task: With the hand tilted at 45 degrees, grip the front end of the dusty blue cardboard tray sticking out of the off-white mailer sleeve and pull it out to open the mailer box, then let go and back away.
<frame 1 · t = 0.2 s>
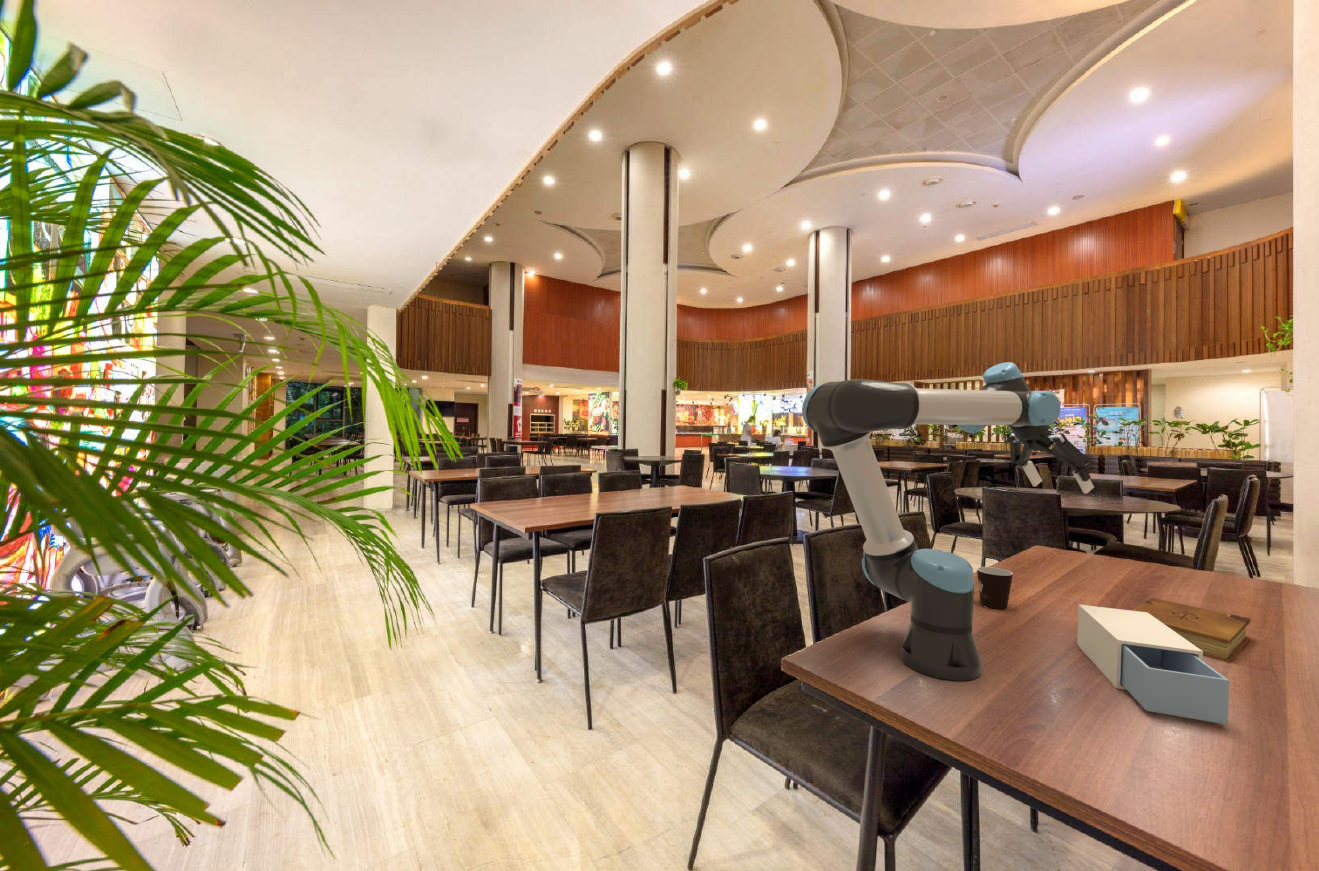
hand: (1062, 486, 135), 36 cm above the table, tool tilted 35°, fingers open, 13 cm apart
mailer sleeve: (1132, 670, 110), on the table
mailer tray: (1155, 668, 101), point 5 cm above the table, slide at 10.0 cm
diary: (1183, 638, 129), on the table
coffee mug: (994, 605, 150), on the table
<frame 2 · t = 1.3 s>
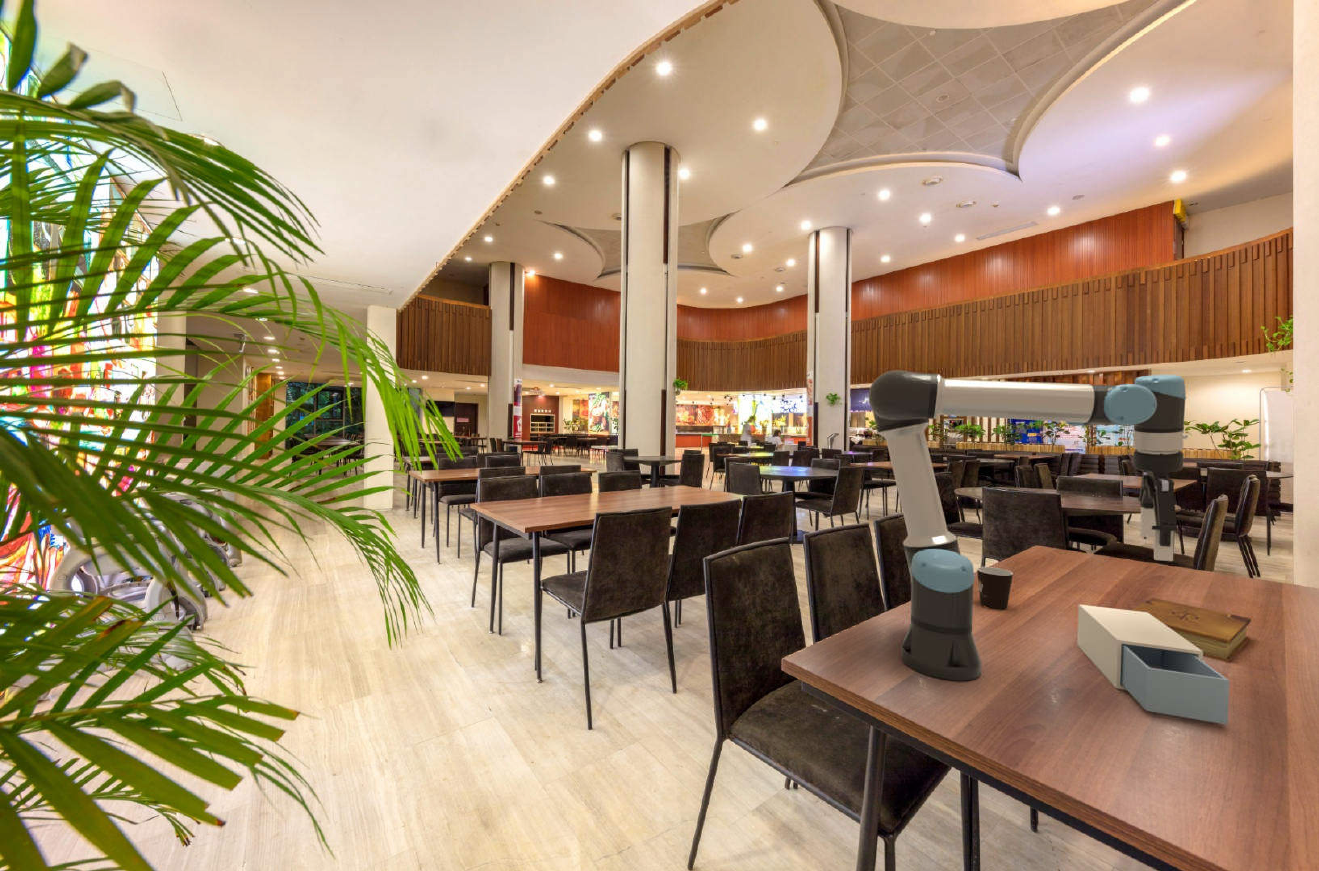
hand: (1155, 547, 112), 26 cm above the table, tool pointing down, fingers open, 13 cm apart
nothing on the table moved.
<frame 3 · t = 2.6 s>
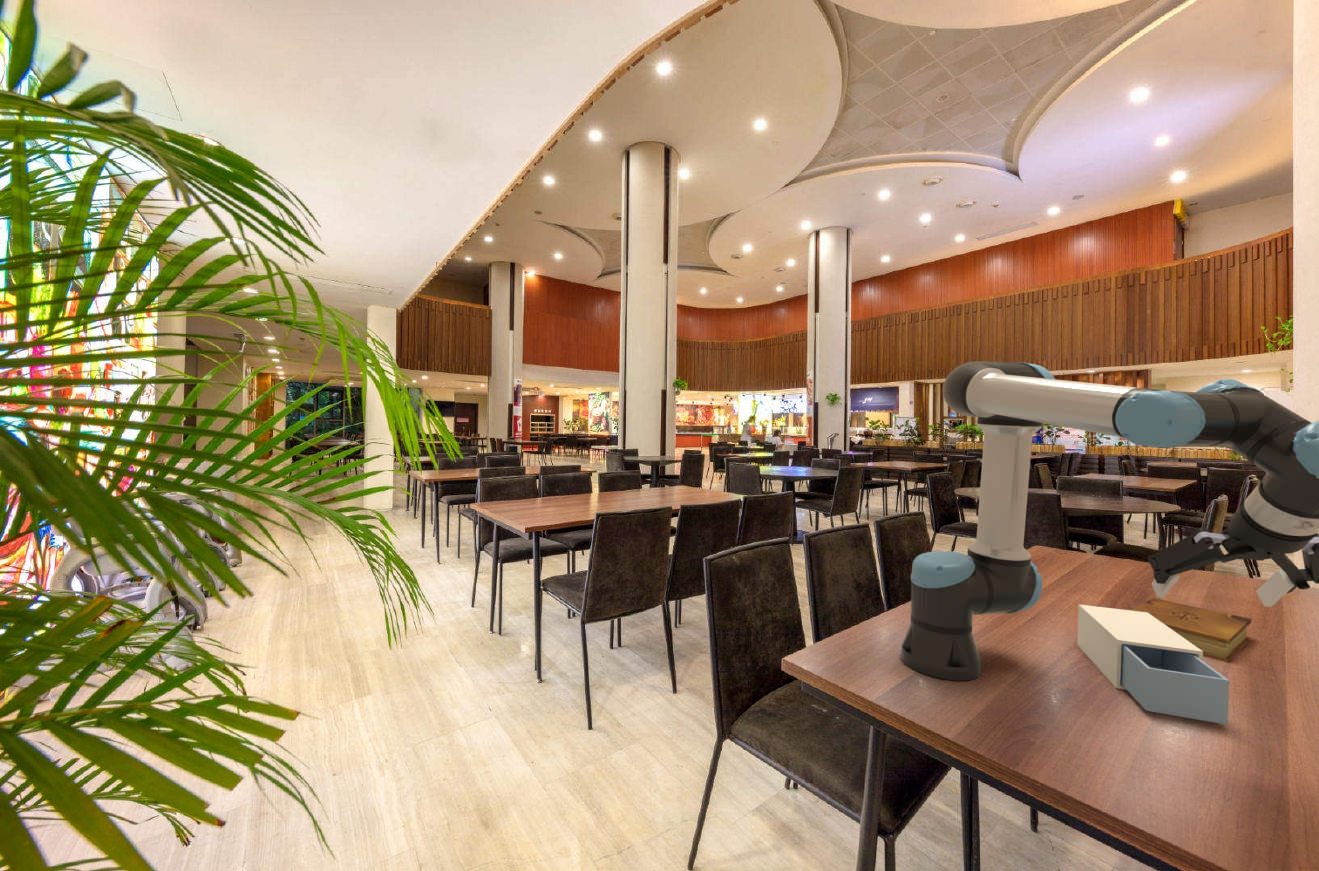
hand: (1208, 594, 87), 24 cm above the table, tool tilted 45°, fingers open, 13 cm apart
nothing on the table moved.
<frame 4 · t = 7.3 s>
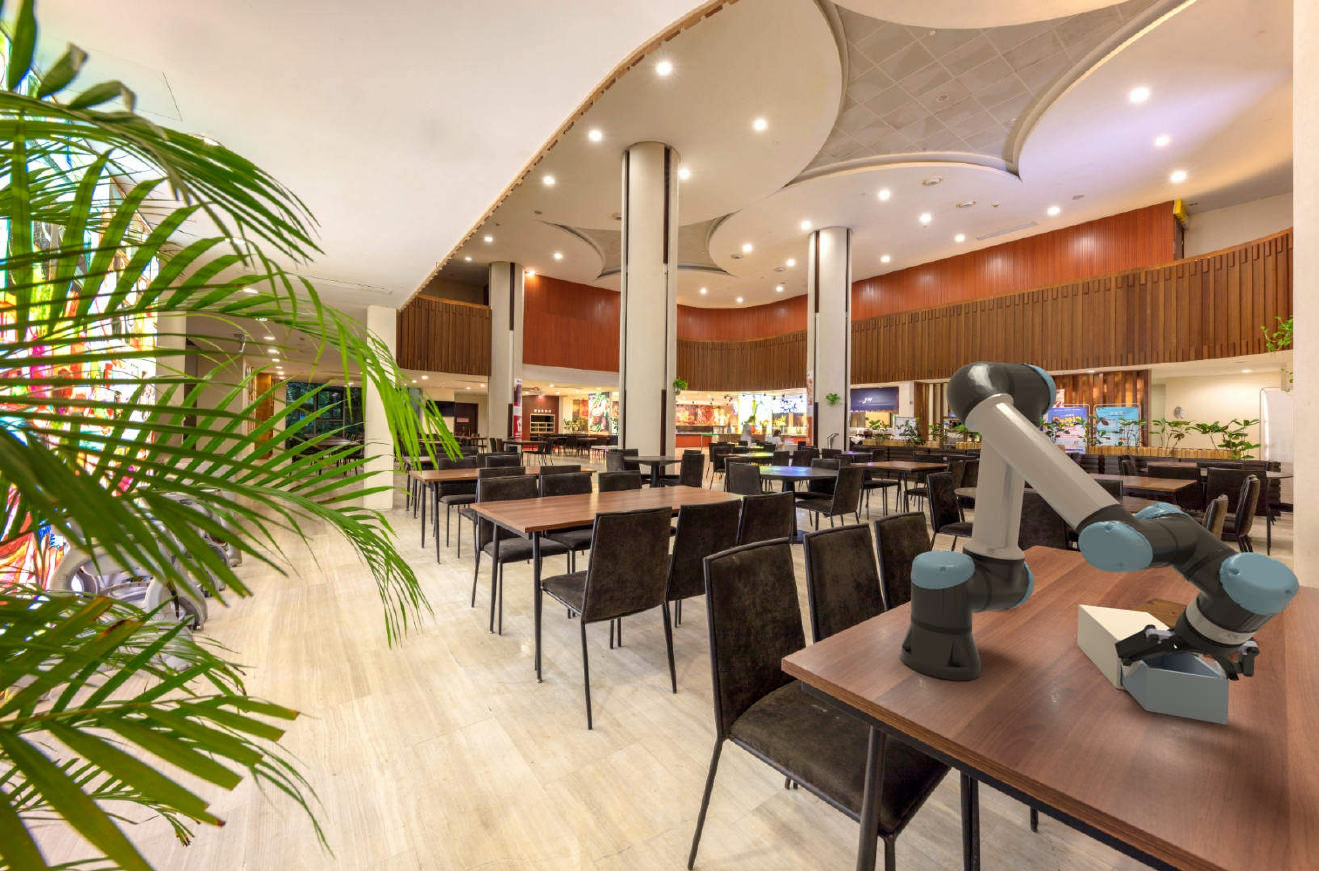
hand: (1164, 676, 98), 5 cm above the table, tool tilted 45°, fingers closed on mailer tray, 11 cm apart
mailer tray: (1155, 668, 101), point 5 cm above the table, slide at 10.0 cm, touching gripper
everything else where it was.
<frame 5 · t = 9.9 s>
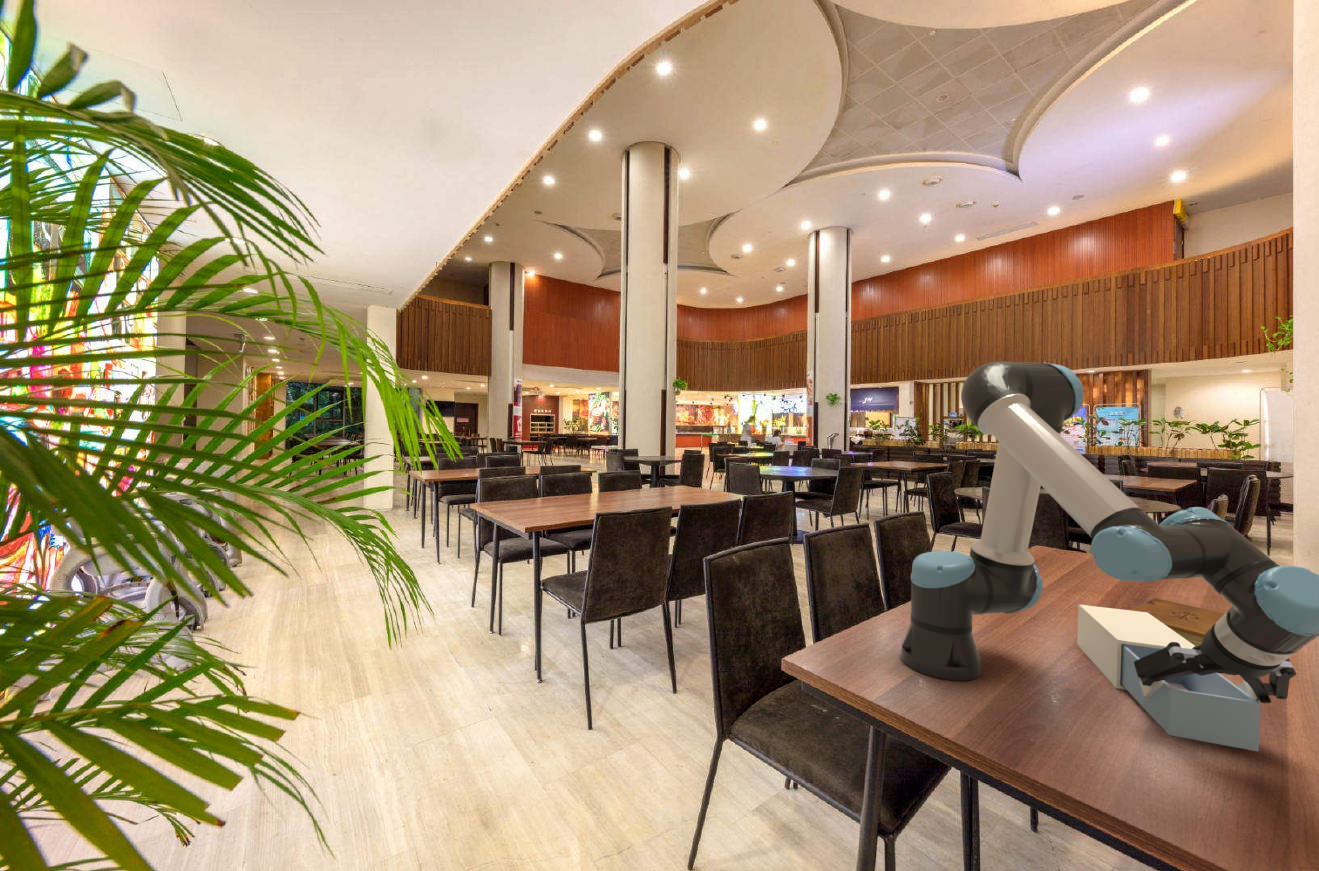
hand: (1186, 696, 91), 5 cm above the table, tool tilted 45°, fingers closed on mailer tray, 11 cm apart
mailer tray: (1177, 687, 94), point 5 cm above the table, slide at 17.9 cm, touching gripper
everything else where it was.
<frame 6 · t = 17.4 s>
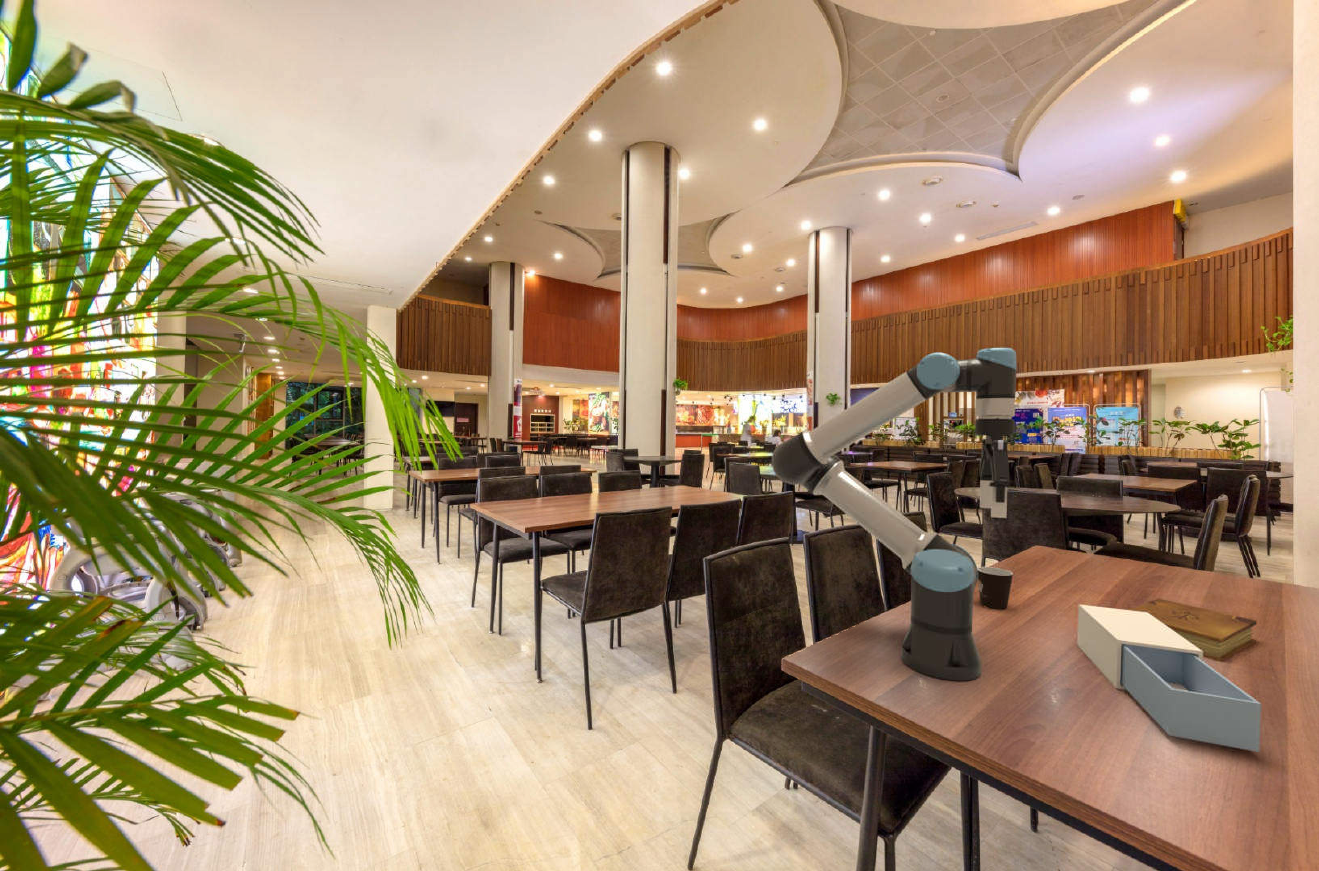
hand: (992, 512, 118), 32 cm above the table, tool pointing down, fingers open, 13 cm apart
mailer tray: (1177, 687, 94), point 5 cm above the table, slide at 18.0 cm
everything else where it was.
at the end: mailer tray slide at 18.0 cm; the gripper is holding nothing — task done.
